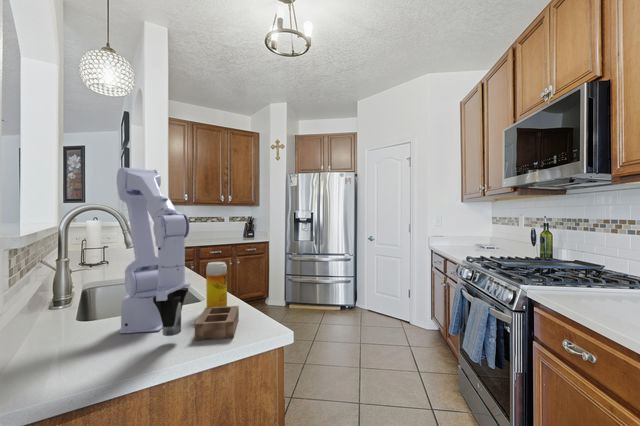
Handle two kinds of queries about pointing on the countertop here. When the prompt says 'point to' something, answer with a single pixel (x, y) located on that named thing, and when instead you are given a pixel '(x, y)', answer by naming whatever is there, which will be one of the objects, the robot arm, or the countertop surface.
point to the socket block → (217, 323)
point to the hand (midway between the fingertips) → (171, 322)
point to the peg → (177, 325)
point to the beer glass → (216, 284)
